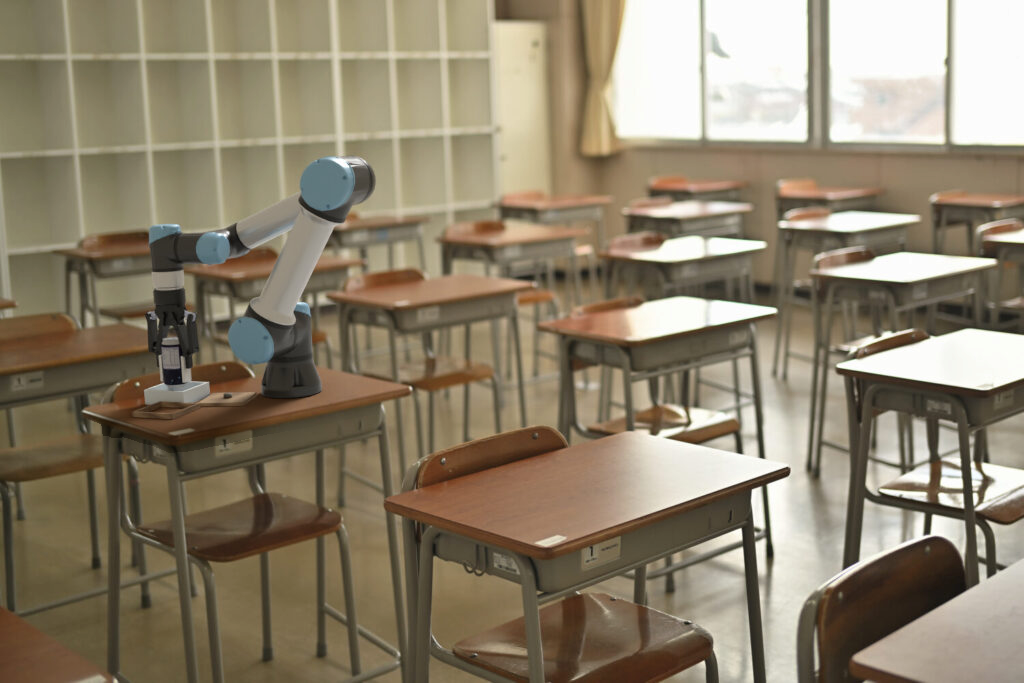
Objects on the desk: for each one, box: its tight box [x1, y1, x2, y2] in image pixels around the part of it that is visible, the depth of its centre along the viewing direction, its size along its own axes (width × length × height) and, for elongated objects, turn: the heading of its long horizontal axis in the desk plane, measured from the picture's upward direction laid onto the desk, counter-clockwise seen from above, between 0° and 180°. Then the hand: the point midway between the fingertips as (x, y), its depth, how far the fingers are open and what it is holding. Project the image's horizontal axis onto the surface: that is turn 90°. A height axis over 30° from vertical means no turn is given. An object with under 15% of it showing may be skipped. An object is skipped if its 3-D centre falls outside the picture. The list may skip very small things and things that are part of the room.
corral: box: [131, 401, 201, 420], centre depth 281 cm, size 11×11×1 cm
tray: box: [143, 380, 211, 406], centre depth 293 cm, size 11×11×4 cm
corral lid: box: [198, 391, 257, 407], centre depth 291 cm, size 11×11×2 cm
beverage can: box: [161, 336, 187, 388], centre depth 292 cm, size 6×6×12 cm
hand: (176, 380), depth 293 cm, fingers closed on beverage can, 6 cm apart
